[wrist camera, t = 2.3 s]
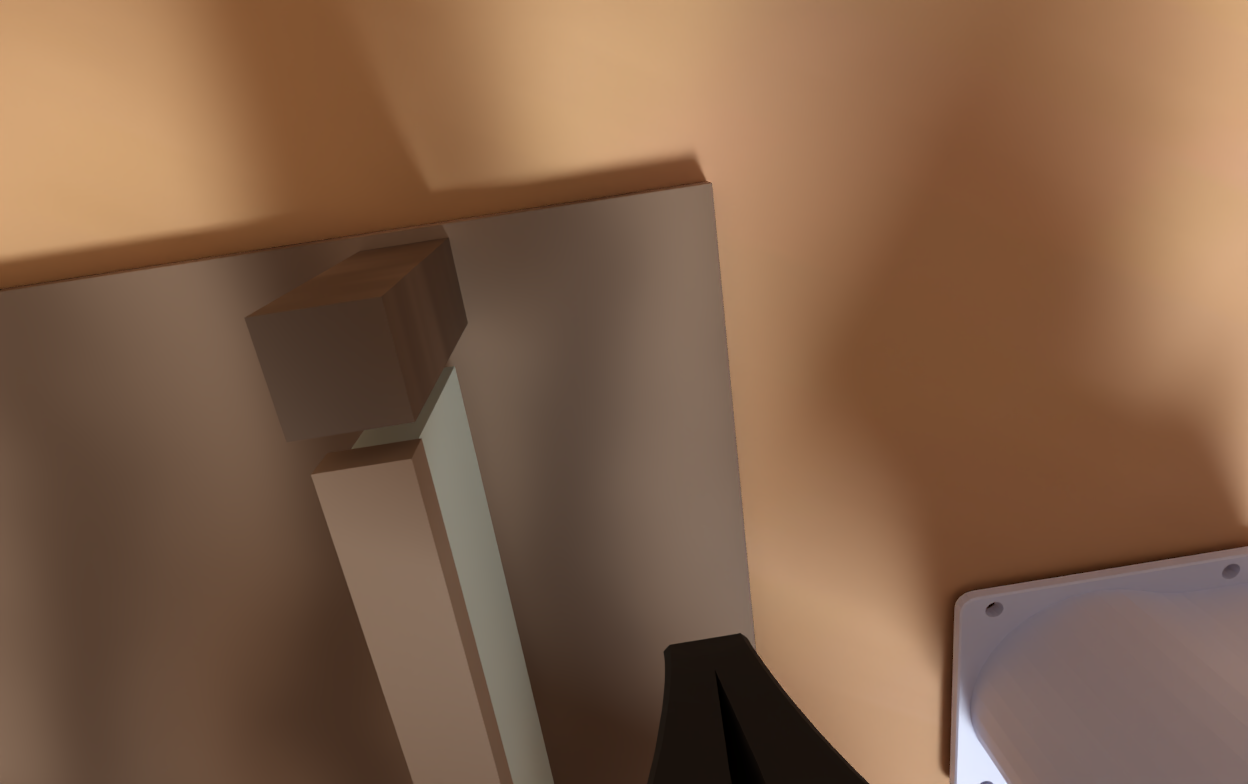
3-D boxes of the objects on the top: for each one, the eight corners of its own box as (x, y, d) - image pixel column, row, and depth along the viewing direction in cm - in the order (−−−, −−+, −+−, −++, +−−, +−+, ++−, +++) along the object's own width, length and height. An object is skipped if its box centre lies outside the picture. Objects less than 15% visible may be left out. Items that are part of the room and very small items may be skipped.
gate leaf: (567, 810, 21) (565, 1020, 16) (514, 818, 21) (496, 1032, 16) (461, 356, 16) (411, 458, 11) (391, 367, 16) (310, 474, 11)
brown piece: (707, 181, 17) (787, 212, 10) (773, 868, 25) (840, 1116, 18) (-250, 327, 16) (-755, 449, 10) (136, 974, 24) (-13, 1263, 18)
